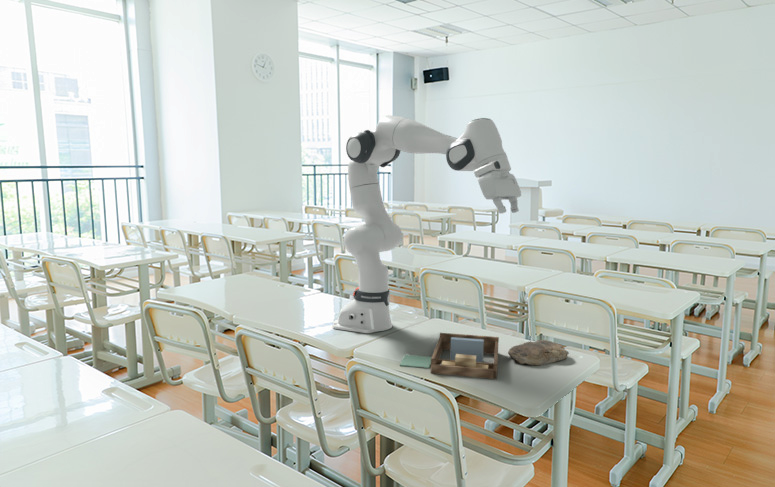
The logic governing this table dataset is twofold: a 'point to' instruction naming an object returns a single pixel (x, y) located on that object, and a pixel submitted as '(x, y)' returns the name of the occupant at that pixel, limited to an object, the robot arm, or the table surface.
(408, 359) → the pad
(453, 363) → the offcut
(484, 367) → the offcut
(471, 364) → the offcut top
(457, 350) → the sheet
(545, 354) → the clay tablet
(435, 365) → the rack
